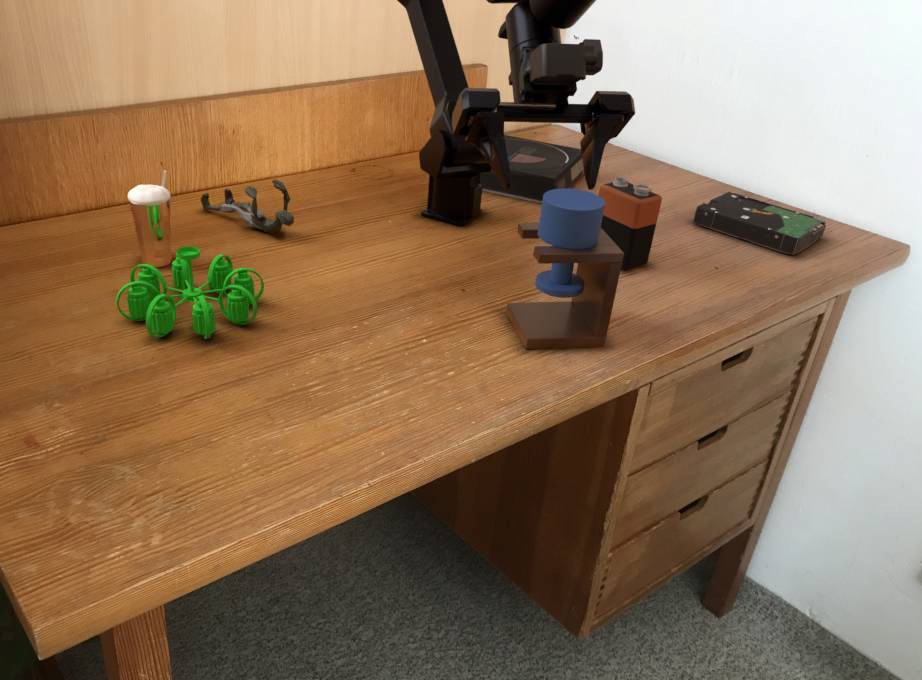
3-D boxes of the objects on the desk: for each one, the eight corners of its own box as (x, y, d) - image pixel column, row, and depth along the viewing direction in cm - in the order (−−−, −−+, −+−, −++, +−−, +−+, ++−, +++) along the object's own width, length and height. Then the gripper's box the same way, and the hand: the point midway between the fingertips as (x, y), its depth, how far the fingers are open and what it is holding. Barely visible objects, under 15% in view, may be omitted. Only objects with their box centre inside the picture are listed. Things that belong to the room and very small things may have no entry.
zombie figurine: (229, 155, 109) (304, 187, 101) (231, 204, 113) (303, 239, 105) (195, 162, 106) (269, 196, 98) (198, 212, 109) (270, 249, 101)
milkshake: (190, 256, 98) (181, 174, 92) (160, 273, 94) (149, 188, 88) (159, 248, 99) (149, 167, 94) (128, 264, 95) (116, 180, 90)
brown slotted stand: (525, 349, 84) (540, 254, 78) (506, 312, 90) (517, 222, 85) (604, 346, 85) (624, 253, 80) (579, 310, 92) (596, 221, 86)
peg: (520, 289, 84) (533, 200, 79) (543, 269, 89) (557, 184, 83) (575, 305, 82) (592, 215, 77) (596, 284, 86) (613, 197, 81)
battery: (624, 272, 101) (641, 194, 96) (585, 252, 106) (599, 176, 100) (648, 265, 103) (666, 188, 98) (609, 246, 108) (624, 171, 103)
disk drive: (691, 225, 116) (794, 257, 108) (695, 206, 115) (800, 237, 107) (723, 208, 123) (822, 237, 115) (727, 190, 122) (829, 218, 113)
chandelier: (110, 291, 89) (100, 231, 85) (246, 273, 95) (243, 216, 91) (130, 359, 78) (120, 293, 74) (284, 334, 84) (282, 272, 80)
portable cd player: (554, 206, 119) (558, 179, 117) (447, 183, 125) (449, 157, 123) (585, 175, 132) (589, 150, 130) (486, 155, 138) (488, 131, 136)
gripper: (468, 2, 80) (481, 150, 77) (648, 10, 83) (668, 152, 80) (446, 68, 91) (457, 200, 88) (606, 72, 94) (622, 200, 91)
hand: (550, 188), depth 86 cm, fingers open, 9 cm apart
